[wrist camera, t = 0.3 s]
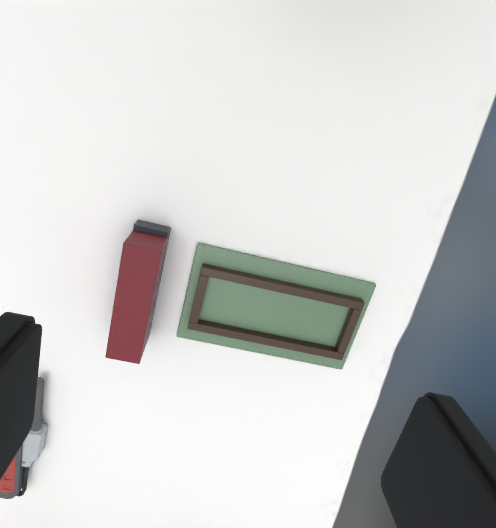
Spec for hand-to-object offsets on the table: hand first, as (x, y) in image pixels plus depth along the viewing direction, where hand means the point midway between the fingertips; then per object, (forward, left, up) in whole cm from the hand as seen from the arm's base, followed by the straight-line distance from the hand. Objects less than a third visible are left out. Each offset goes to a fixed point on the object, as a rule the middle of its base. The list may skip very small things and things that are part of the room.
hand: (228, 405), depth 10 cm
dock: (+15, +9, -36) cm, 40 cm away
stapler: (+15, -7, -36) cm, 39 cm away
